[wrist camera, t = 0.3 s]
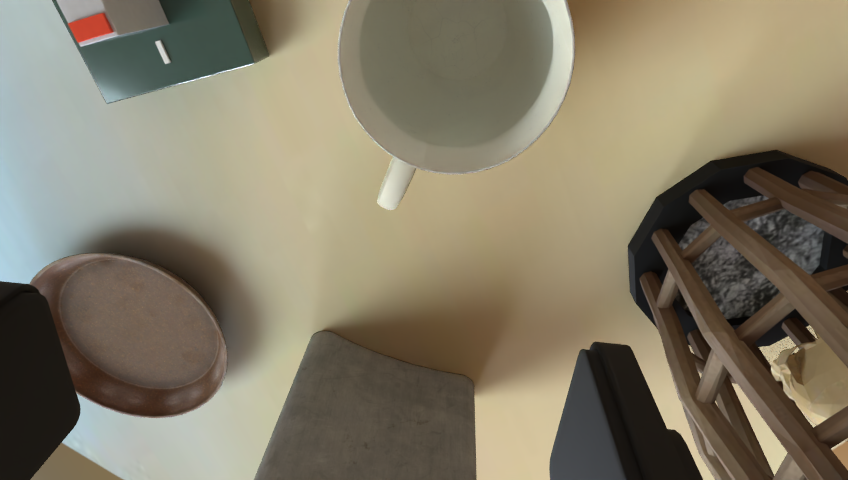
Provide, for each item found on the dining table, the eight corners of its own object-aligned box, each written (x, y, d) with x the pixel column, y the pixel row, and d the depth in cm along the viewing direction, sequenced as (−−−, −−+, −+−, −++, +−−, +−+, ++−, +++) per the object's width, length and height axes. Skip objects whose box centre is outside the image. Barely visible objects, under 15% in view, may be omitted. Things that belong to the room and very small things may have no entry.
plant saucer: (48, 207, 43) (20, 224, 40) (257, 280, 45) (244, 300, 42) (42, 360, 51) (19, 382, 48) (220, 416, 53) (207, 440, 50)
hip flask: (479, 380, 49) (488, 618, 31) (462, 409, 51) (462, 650, 33) (314, 326, 47) (225, 546, 29) (303, 358, 49) (214, 583, 31)
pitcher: (330, 129, 38) (268, 207, 26) (431, -150, 30) (409, -223, 18) (465, 189, 40) (466, 289, 28) (597, -62, 32) (679, -74, 20)
